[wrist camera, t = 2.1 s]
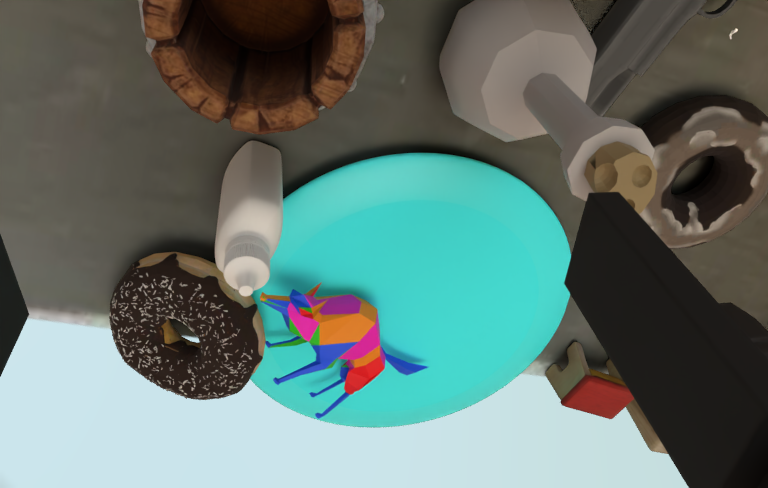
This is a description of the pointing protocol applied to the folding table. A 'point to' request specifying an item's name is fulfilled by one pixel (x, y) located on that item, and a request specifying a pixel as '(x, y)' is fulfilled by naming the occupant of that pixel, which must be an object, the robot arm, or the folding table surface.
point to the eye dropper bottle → (250, 216)
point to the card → (732, 33)
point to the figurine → (336, 338)
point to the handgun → (636, 42)
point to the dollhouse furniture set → (598, 393)
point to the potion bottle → (543, 92)
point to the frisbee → (418, 283)
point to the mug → (260, 56)
